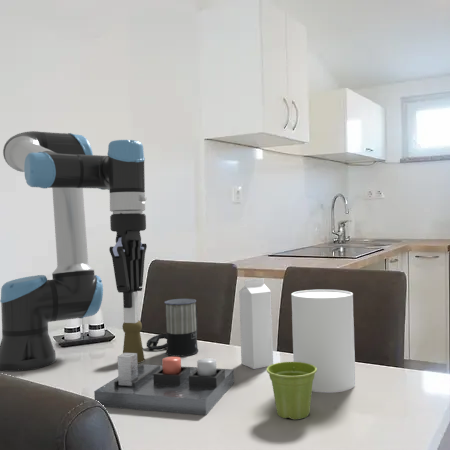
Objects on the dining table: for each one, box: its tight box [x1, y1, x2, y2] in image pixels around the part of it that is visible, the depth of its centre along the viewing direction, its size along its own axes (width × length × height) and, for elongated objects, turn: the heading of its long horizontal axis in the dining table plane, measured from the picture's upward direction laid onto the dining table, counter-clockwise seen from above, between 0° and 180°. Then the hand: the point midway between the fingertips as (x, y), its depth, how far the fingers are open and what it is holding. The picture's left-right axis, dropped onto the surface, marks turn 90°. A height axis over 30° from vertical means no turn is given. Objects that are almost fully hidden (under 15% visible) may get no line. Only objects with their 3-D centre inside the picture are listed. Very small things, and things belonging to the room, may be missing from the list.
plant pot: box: [266, 361, 317, 420], centre depth 95 cm, size 9×9×9 cm
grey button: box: [196, 357, 217, 377], centre depth 107 cm, size 4×4×3 cm
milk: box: [238, 277, 274, 370], centre depth 129 cm, size 6×6×22 cm
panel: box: [93, 363, 235, 416], centre depth 109 cm, size 24×20×5 cm
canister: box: [290, 289, 356, 393], centre depth 113 cm, size 14×14×20 cm
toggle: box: [117, 352, 139, 386], centre depth 107 cm, size 3×3×6 cm
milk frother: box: [146, 298, 199, 357], centre depth 146 cm, size 14×16×15 cm
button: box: [162, 356, 182, 375], centre depth 109 cm, size 4×4×3 cm
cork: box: [122, 319, 145, 364], centre depth 137 cm, size 6×6×11 cm
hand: (131, 322), depth 109 cm, fingers closed
